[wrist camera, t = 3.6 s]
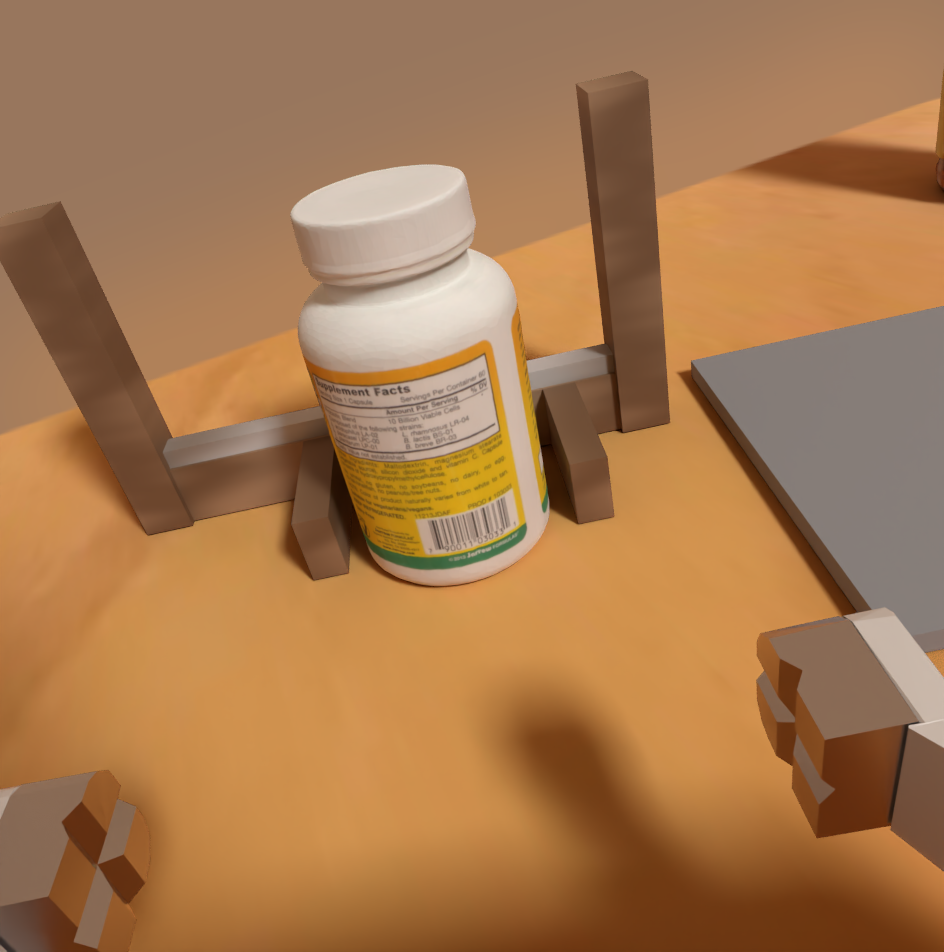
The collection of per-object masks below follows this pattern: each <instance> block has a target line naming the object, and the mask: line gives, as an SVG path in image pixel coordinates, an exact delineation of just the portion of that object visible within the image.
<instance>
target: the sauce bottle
mask: <svg viewBox="0 0 944 952" xmlns="http://www.w3.org/2000/svg"><path fill="white" fill-rule="evenodd" d="M936 154H937V156H938V157H939V162H938V163H937V166H936V172H937V182H938V184H939V185H940V186H941V187H942V189H943V190H944V71H943V81H942V91H941V101H940V112H939V122H938V132H937V142H936Z"/></svg>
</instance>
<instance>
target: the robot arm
mask: <svg viewBox="0 0 944 952" xmlns="http://www.w3.org/2000/svg"><path fill="white" fill-rule="evenodd" d="M757 657H758V659H759V661H760V663H761V665H762V667H763V669H764V672H763V673H762V674H761V675H760V676H759V678H758V679H757V680H756V684H757V701H758V706H759V711H760V715H761V720H762V723H763V726H764V728H765V731H766V734H767V737H768V739H769V741H770V743H771V745H772V748H773V750H774V752H775V754H776V756H778V757H779V758H781V759H782V760H784V761H785V762H787V763H788V764H790V765H791V766H793V771H792V789H793V791H794V793H795V795H796V797H797V799H798V802H799V804H800V806H801V808H802V810H803V812H804V814H805V816H806V818H807V820H808V822H809V824H810V826H811V828H812V830H813V832H814V834H815V836H816V838H822V837H828V836H834V835H840V834H846V833H851V832H857V831H863V830H869V829H875V828H881V827H887V826H891V829H890V830H891V831H893V832H894V833H895V834H896V835H898V836H899V837H900V838H901V839H903V840H904V841H905V842H907V843H908V844H909V845H910V846H912V847H913V848H914V849H916V850H917V851H918V852H919V853H921V854H922V855H923V856H924V857H926V858H927V859H928V860H930V861H931V862H932V863H933V864H935V865H936V866H937V867H939V868H940V869H941V870H942V871H944V677H943V676H942V675H941V673H940V672H939V671H938V670H937V668H936V667H935V666H934V664H933V663H932V662H931V660H930V659H929V658H928V657H927V655H926V654H925V653H924V651H923V650H922V649H921V647H920V646H919V645H918V644H917V642H916V641H915V640H914V638H913V637H912V636H911V634H910V633H909V632H908V630H907V629H906V628H905V627H904V625H903V624H902V623H901V621H900V620H899V619H898V617H897V616H896V615H895V614H894V612H892V611H890V610H889V609H887V608H885V607H883V608H879V609H874V610H869V611H864V612H859V613H855V614H850V615H845V616H842V617H839V616H837V617H833V618H828V619H823V620H819V621H814V622H810V623H805V624H801V625H796V626H792V627H787V628H782V629H778V630H773V631H769V632H764V633H760V635H759V637H758V640H757ZM120 788H121V785H120V784H119V782H118V781H117V780H116V779H115V778H114V776H113V775H112V774H111V773H110V771H109V770H104V771H96V772H90V773H84V774H79V775H73V776H68V777H62V778H56V779H51V780H45V781H40V782H34V783H28V784H23V785H19V786H14V787H8V788H3V789H0V952H128V951H129V947H130V943H131V939H132V935H133V931H134V927H135V923H136V917H135V915H134V913H133V911H132V909H131V907H130V905H129V902H130V901H131V900H132V899H133V898H134V896H135V895H136V894H137V893H138V891H139V890H140V889H141V888H142V886H143V885H144V884H145V882H146V878H147V873H148V869H149V864H150V860H151V857H150V834H149V831H148V828H147V825H146V821H145V819H144V817H143V816H142V814H141V813H140V811H139V810H138V808H137V807H136V806H133V805H131V804H128V803H126V802H124V801H121V800H119V799H117V798H118V795H119V791H120Z"/></svg>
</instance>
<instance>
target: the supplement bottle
mask: <svg viewBox="0 0 944 952" xmlns="http://www.w3.org/2000/svg"><path fill="white" fill-rule="evenodd" d="M291 221H292V225H293V229H294V232H295V236H296V240H297V243H298V246H299V250H300V253H301V257H302V261H303V263H304V265H305V266H306V267H307V268H308V270H309V273H310V275H311V276H312V277H313V278H315V279H316V280H317V281H320V282H322V284H320V285H319V286H318V287H317V288H316V289H315V290H314V291H313V293H312V294H311V295H310V296H309V297H308V299H307V301H306V302H305V304H304V306H303V308H302V311H301V314H300V317H299V323H298V338H299V343H300V347H301V350H302V354H303V357H304V360H305V363H306V366H307V370H308V372H309V375H310V378H311V381H312V384H313V387H314V390H315V393H316V396H317V398H318V402H319V405H320V407H321V410H322V413H323V416H324V419H325V422H326V425H327V427H328V430H329V434H330V437H331V440H332V443H333V446H334V449H335V452H336V455H337V458H338V461H339V464H340V467H341V470H342V473H343V476H344V479H345V481H346V485H347V488H348V491H349V493H350V496H351V499H352V502H353V505H354V508H355V511H356V514H357V516H358V519H359V522H360V526H361V528H362V531H363V535H364V537H365V539H366V542H367V545H368V548H369V551H370V553H371V555H372V556H373V558H374V560H375V561H376V562H377V563H378V565H379V566H381V567H382V568H383V569H384V570H385V571H387V572H389V573H390V574H392V575H394V576H396V577H398V578H400V579H403V580H406V581H410V582H413V583H417V584H422V585H429V586H449V585H459V584H465V583H469V582H474V581H477V580H481V579H484V578H487V577H489V576H492V575H495V574H497V573H499V572H500V571H502V570H504V569H506V568H508V567H510V566H511V565H513V564H514V563H516V562H517V561H519V560H520V559H521V558H522V557H524V556H525V555H526V554H527V553H528V552H529V551H530V550H531V549H532V548H533V546H534V545H535V544H536V543H537V542H538V540H539V539H540V537H541V535H542V534H543V532H544V530H545V527H546V524H547V522H548V519H549V498H548V491H547V484H546V478H545V472H544V467H543V459H542V453H541V447H540V442H539V436H538V429H537V423H536V418H535V412H534V405H533V399H532V392H531V385H530V380H529V374H528V367H527V361H526V354H525V348H524V342H523V335H522V327H521V321H520V314H519V309H518V304H517V299H516V295H515V290H514V287H513V284H512V282H511V280H510V278H509V276H508V274H507V273H506V272H505V270H504V269H503V268H502V267H501V266H500V265H499V264H498V263H497V262H495V261H494V260H493V259H491V258H490V257H488V256H486V255H484V254H482V253H480V252H477V251H475V250H472V249H468V247H469V246H470V245H471V243H472V241H473V237H474V228H475V226H476V222H475V217H474V214H473V211H472V206H471V201H470V196H469V191H468V186H467V181H466V178H465V176H464V174H463V173H462V172H461V171H460V170H459V169H457V168H453V167H449V166H443V165H413V166H404V167H396V168H389V169H384V170H378V171H373V172H368V173H365V174H361V175H358V176H354V177H350V178H348V179H345V180H342V181H339V182H336V183H333V184H331V185H328V186H326V187H323V188H321V189H319V190H317V191H314V192H313V193H311V194H309V195H308V196H306V197H305V198H303V199H302V200H300V201H299V202H298V203H297V204H296V205H295V206H294V207H293V209H292V211H291Z"/></svg>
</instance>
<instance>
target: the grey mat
mask: <svg viewBox="0 0 944 952" xmlns="http://www.w3.org/2000/svg"><path fill="white" fill-rule="evenodd" d="M691 370H692V378H693V379H694V380H695V382H696V383H697V385H698V386H699V387H700V389H701V390H702V392H703V393H704V395H705V396H706V397H707V399H708V400H709V402H710V403H711V405H712V406H713V407H714V409H715V410H716V412H717V413H718V415H719V416H720V417H721V419H722V420H723V422H724V423H725V425H726V426H727V427H728V429H729V430H730V432H731V433H732V434H733V436H734V437H735V439H736V440H737V442H738V443H739V444H740V446H741V447H742V449H743V450H744V452H745V453H746V454H747V456H748V457H749V459H750V460H751V462H752V463H753V464H754V466H755V467H756V469H757V470H758V472H759V473H760V474H761V476H762V477H763V479H764V480H765V481H766V483H767V484H768V486H769V487H770V489H771V490H772V491H773V493H774V494H775V496H776V497H777V499H778V500H779V501H780V503H781V504H782V506H783V507H784V509H785V510H786V511H787V513H788V514H789V516H790V517H791V519H792V520H793V521H794V523H795V524H796V526H797V527H798V528H799V530H800V531H801V533H802V534H803V536H804V537H805V538H806V540H807V541H808V543H809V544H810V546H811V547H812V548H813V550H814V551H815V553H816V554H817V556H818V557H819V558H820V560H821V561H822V563H823V564H824V566H825V567H826V568H827V570H828V571H829V573H830V574H831V575H832V577H833V578H834V580H835V581H836V583H837V584H838V585H839V587H840V588H841V590H842V591H843V593H844V594H845V595H846V597H847V598H848V600H849V601H850V603H851V604H852V605H853V607H854V608H855V610H856V611H857V613H859V612H864V611H869V610H874V609H879V608H883V607H885V608H887V609H889V610H890V611H892V612H894V614H895V615H896V616H897V617H898V619H899V620H900V621H901V623H902V624H903V625H904V627H905V628H906V629H907V630H908V632H909V633H910V634H911V636H912V637H913V638H914V640H915V641H916V642H917V644H918V645H919V646H920V647H921V649H922V650H923V651H924V653H925V652H930V651H935V650H940V649H944V306H941V307H936V308H932V309H927V310H923V311H918V312H913V313H909V314H904V315H900V316H895V317H890V318H886V319H881V320H877V321H872V322H867V323H863V324H858V325H854V326H849V327H844V328H840V329H835V330H831V331H826V332H821V333H817V334H812V335H808V336H803V337H798V338H794V339H789V340H785V341H780V342H775V343H771V344H766V345H762V346H757V347H752V348H748V349H743V350H739V351H734V352H729V353H725V354H720V355H716V356H711V357H706V358H702V359H697V360H693V361H691Z"/></svg>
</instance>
